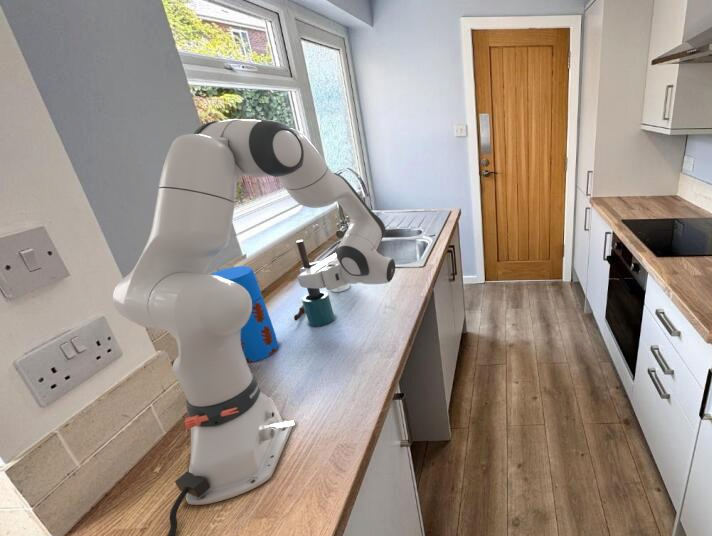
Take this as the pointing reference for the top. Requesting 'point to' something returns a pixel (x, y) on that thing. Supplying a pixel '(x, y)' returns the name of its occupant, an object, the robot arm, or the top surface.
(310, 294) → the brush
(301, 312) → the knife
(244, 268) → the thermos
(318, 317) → the teal hollow cylinder
